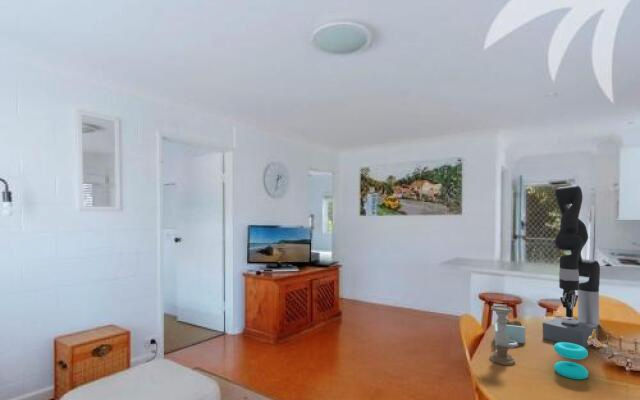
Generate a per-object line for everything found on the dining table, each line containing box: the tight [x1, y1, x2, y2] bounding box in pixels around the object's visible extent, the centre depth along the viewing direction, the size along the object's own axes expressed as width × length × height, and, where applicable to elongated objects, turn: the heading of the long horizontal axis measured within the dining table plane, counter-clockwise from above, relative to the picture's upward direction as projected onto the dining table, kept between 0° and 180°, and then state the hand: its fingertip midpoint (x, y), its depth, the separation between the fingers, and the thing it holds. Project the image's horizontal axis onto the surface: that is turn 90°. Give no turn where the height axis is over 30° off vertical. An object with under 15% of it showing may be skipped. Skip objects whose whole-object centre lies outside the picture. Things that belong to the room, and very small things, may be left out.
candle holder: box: [489, 305, 516, 366], centre depth 142 cm, size 9×9×20 cm
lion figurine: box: [506, 318, 523, 327], centre depth 173 cm, size 15×5×9 cm, turn 111°
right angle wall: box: [494, 322, 526, 349], centre depth 159 cm, size 12×12×8 cm
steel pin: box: [560, 316, 579, 327], centre depth 167 cm, size 6×6×8 cm
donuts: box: [553, 342, 589, 380], centre depth 130 cm, size 10×10×10 cm
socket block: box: [542, 316, 599, 349], centre depth 167 cm, size 16×16×7 cm
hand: (569, 316), depth 167 cm, fingers closed
